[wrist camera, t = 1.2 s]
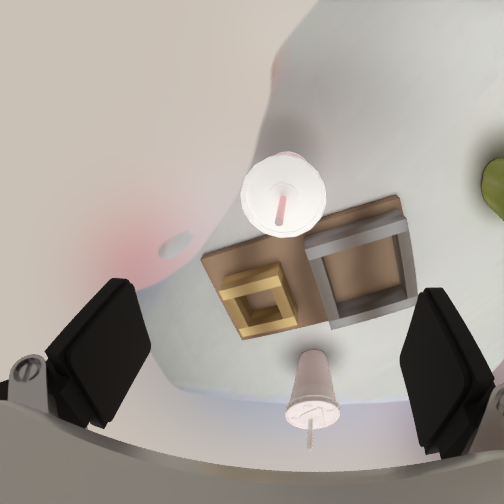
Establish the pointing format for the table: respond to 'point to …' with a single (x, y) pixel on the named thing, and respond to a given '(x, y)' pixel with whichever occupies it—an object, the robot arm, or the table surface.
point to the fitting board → (319, 272)
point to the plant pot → (494, 186)
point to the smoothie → (312, 395)
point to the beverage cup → (283, 195)
